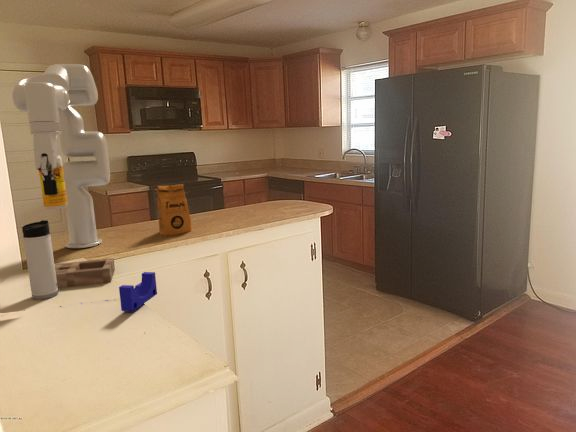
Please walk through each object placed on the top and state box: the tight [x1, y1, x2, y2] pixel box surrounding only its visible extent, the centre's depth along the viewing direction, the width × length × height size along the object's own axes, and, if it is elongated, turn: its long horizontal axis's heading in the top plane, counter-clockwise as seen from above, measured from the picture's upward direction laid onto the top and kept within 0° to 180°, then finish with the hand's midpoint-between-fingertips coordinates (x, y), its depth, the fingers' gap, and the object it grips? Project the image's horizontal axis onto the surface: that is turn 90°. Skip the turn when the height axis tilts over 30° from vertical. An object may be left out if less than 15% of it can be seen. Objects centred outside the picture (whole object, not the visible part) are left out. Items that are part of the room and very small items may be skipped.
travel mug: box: [21, 219, 59, 301], centre depth 120 cm, size 6×7×20 cm
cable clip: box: [118, 271, 158, 312], centre depth 114 cm, size 12×4×6 cm, turn 168°
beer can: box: [38, 155, 68, 210], centre depth 128 cm, size 6×6×15 cm
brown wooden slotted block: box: [54, 257, 116, 289], centre depth 134 cm, size 12×17×4 cm
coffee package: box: [156, 183, 193, 237], centre depth 182 cm, size 10×12×22 cm
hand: (54, 192), depth 129 cm, fingers closed on beer can, 6 cm apart
